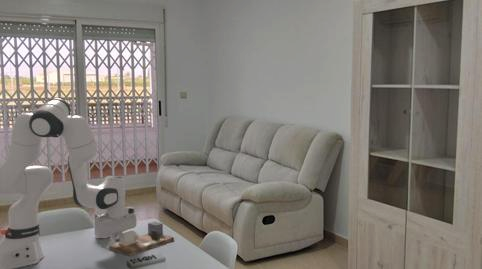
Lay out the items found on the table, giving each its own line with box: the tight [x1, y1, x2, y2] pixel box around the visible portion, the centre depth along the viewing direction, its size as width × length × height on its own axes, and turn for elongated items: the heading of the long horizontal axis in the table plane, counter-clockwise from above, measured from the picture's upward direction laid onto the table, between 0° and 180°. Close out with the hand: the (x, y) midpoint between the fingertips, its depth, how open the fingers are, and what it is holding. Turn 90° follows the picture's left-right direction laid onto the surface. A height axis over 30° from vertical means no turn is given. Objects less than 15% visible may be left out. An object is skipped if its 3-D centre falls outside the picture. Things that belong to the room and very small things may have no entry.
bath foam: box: [93, 209, 111, 239], centre depth 224 cm, size 7×7×20 cm
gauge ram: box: [118, 229, 141, 246], centre depth 209 cm, size 8×8×5 cm
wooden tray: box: [108, 233, 175, 257], centre depth 212 cm, size 26×14×2 cm, turn 141°
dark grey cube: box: [147, 221, 164, 236], centre depth 222 cm, size 4×6×6 cm, turn 51°
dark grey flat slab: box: [151, 230, 160, 240], centre depth 214 cm, size 1×5×4 cm, turn 51°
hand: (116, 242), depth 205 cm, fingers closed
